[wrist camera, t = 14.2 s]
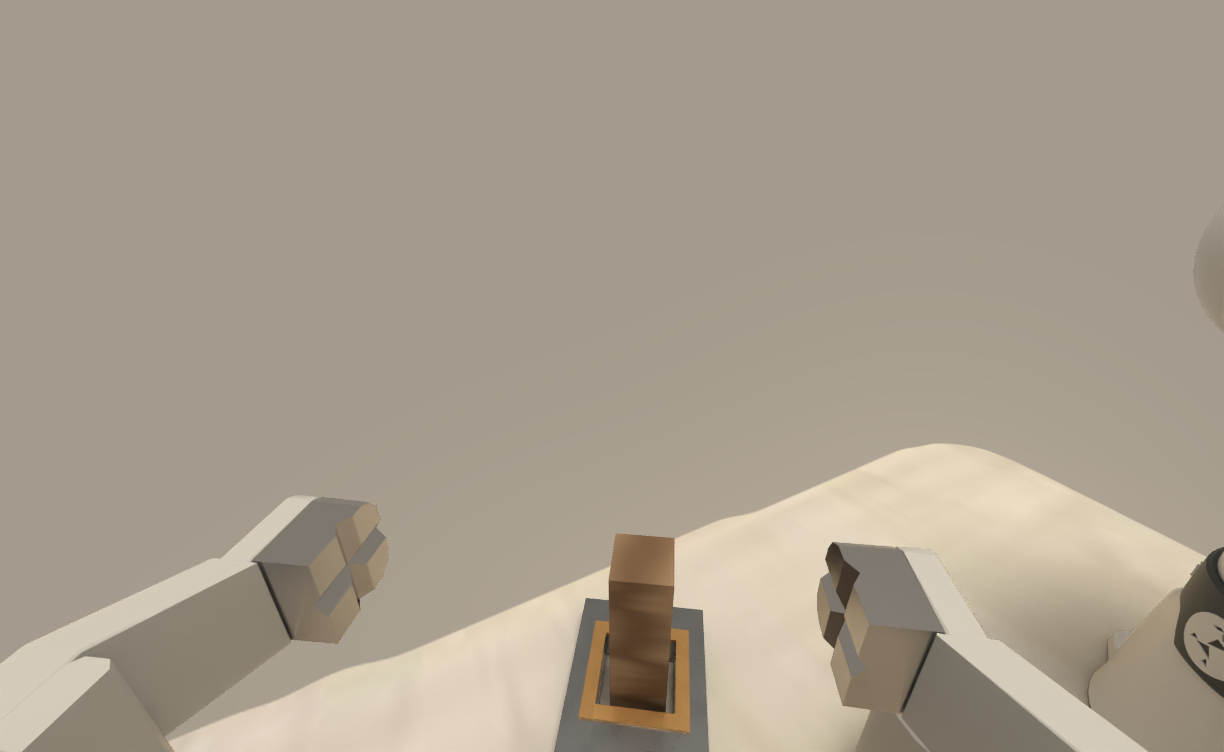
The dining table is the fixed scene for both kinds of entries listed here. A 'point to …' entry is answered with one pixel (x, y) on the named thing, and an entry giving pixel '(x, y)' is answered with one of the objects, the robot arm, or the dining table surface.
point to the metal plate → (624, 737)
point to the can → (888, 735)
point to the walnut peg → (640, 620)
